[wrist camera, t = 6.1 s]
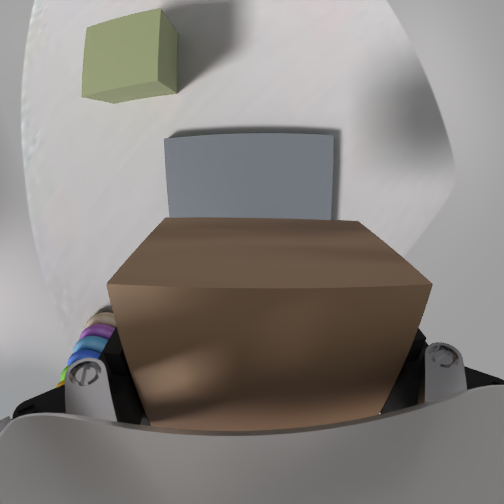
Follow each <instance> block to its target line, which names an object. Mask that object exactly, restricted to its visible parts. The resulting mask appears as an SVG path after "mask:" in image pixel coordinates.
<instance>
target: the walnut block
mask: <svg viewBox="0 0 504 504" xmlns="http://www.w3.org/2000/svg"><path fill="white" fill-rule="evenodd" d="M431 288H432V283H431V282H430V281H429V280H428V279H426V278H425V277H424V276H423V275H422V274H421V273H420V272H419V271H418V270H416V269H415V268H414V267H413V266H412V265H411V264H410V263H409V262H407V261H406V260H405V259H404V258H403V257H402V256H400V255H399V254H398V253H397V252H396V251H394V250H393V249H392V248H391V247H390V246H388V245H387V244H386V243H385V242H384V241H382V240H381V239H380V238H379V237H377V236H376V235H375V234H374V233H372V232H371V231H370V230H369V229H367V228H366V227H365V226H364V225H362V224H361V223H360V222H358V221H343V220H317V219H284V218H212V217H193V218H165V219H164V220H163V221H162V222H161V223H160V224H159V225H158V226H157V227H156V228H155V229H154V230H153V231H152V233H151V234H150V235H149V236H148V237H147V238H146V239H145V240H144V241H143V242H142V243H141V245H140V246H139V247H138V248H137V249H136V250H135V251H134V252H133V253H132V255H131V256H130V257H129V258H128V259H127V260H126V261H125V263H124V264H123V265H122V266H121V267H120V268H119V269H118V271H117V272H116V273H115V274H114V275H113V277H112V278H111V279H110V280H109V281H108V282H107V289H108V293H109V298H110V302H111V306H112V310H113V314H114V318H115V322H116V326H117V329H118V333H119V337H120V340H121V344H122V347H123V350H124V354H125V357H126V360H127V363H128V366H129V369H130V372H131V375H132V378H133V381H134V384H135V386H136V389H137V392H138V395H139V397H140V400H141V402H142V405H143V408H144V410H145V413H146V415H147V417H148V420H149V422H150V425H151V426H153V427H162V428H172V429H186V430H206V431H255V430H275V429H288V428H299V427H309V426H317V425H324V424H331V423H338V422H344V421H350V420H355V419H361V418H366V417H371V416H375V415H379V413H380V411H381V409H382V408H383V406H384V404H385V402H386V400H387V398H388V396H389V394H390V392H391V390H392V388H393V386H394V384H395V382H396V380H397V378H398V375H399V373H400V371H401V369H402V367H403V364H404V362H405V360H406V357H407V355H408V353H409V350H410V348H411V345H412V343H413V340H414V338H415V335H416V333H417V330H418V327H419V324H420V322H421V319H422V316H423V313H424V310H425V307H426V304H427V301H428V298H429V294H430V291H431Z"/></svg>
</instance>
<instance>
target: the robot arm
mask: <svg viewBox="0 0 504 504" xmlns="http://www.w3.org/2000/svg"><path fill="white" fill-rule="evenodd" d="M425 340H426V337H425V336H424V335H423V333H422V332H421V331H420V329H419V328H418V330H417V333H416V335H415V338H414V340H413V343H412V345H411V348H410V350H409V353H408V355H407V357H406V360H405V362H404V364H403V367H402V369H401V371H400V373H399V375H398V378H397V380H396V382H395V384H394V386H393V388H392V390H391V392H390V394H389V396H388V398H387V400H386V402H385V404H384V406H383V408H382V409H381V411H380V413H381V414H380V415H375V416H371V417H366V418H361V419H355V420H350V421H344V422H338V423H331V424H324V425H317V426H309V427H299V428H288V429H275V430H255V431H206V430H186V429H172V428H162V427H153V426H151V425H150V422H149V420H148V417H147V415H146V413H145V410H144V408H143V405H142V402H141V400H140V397H139V395H138V392H137V389H136V386H135V384H134V381H133V378H132V375H131V372H130V369H129V366H128V363H127V360H126V357H125V354H124V350H123V347H122V344H121V340H120V337H119V333H118V329H117V326H116V328H115V330H114V331H113V333H112V335H111V336H110V338H109V340H108V342H107V343H106V345H105V347H104V349H103V350H102V352H101V354H100V356H99V358H98V359H96V358H84V359H81V360H78V361H76V362H74V363H73V364H72V365H71V366H70V367H68V369H67V371H66V373H65V384H64V385H61V386H59V387H57V388H55V389H53V390H50V391H48V392H45V393H43V394H41V395H38V396H36V397H34V398H31V399H29V400H26V401H24V402H23V403H21V404H20V405H19V406H18V407H17V408H16V409H15V411H14V413H13V419H10V417H9V416H8V417H6V418H4V419H2V420H0V504H504V380H502V379H500V378H497V377H494V376H491V375H488V374H485V373H482V372H479V371H476V370H473V369H470V368H468V367H465V366H464V363H463V358H462V355H461V353H460V352H459V351H458V350H457V349H456V348H455V347H453V346H451V345H449V344H446V343H439V342H437V343H432V344H430V345H428V344H427V343H426V342H425ZM144 425H146V426H144Z"/></svg>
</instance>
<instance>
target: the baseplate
mask: <svg viewBox="0 0 504 504" xmlns="http://www.w3.org/2000/svg"><path fill="white" fill-rule="evenodd" d="M164 147H165V165H166V180H167V193H168V205H169V215H170V218H193V217H212V218H284V219H317V220H331V208H332V187H333V150H334V135H321V134H298V133H238V134H215V135H199V136H186V137H175V138H165V139H164Z"/></svg>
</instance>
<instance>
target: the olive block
mask: <svg viewBox="0 0 504 504" xmlns="http://www.w3.org/2000/svg"><path fill="white" fill-rule="evenodd" d="M177 62H178V33H177V31H176V30H175V28H174V27H173V25H172V24H171V22H170V21H169V19H168V18H167V16H166V15H165V13H164V12H163V10H162V9H161V8H159V9H154V10H149V11H144V12H140V13H136V14H131V15H128V16H124V17H120V18H116V19H113V20H109V21H106V22H103V23H100V24H97V25H94V26H91V27H88V28H87V30H86V38H85V48H84V59H83V74H82V97H84V98H90V99H95V100H100V101H105V102H109V103H114V104H115V103H120V102H125V101H130V100H136V99H142V98H148V97H154V96H162V95H169V94H177Z"/></svg>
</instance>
